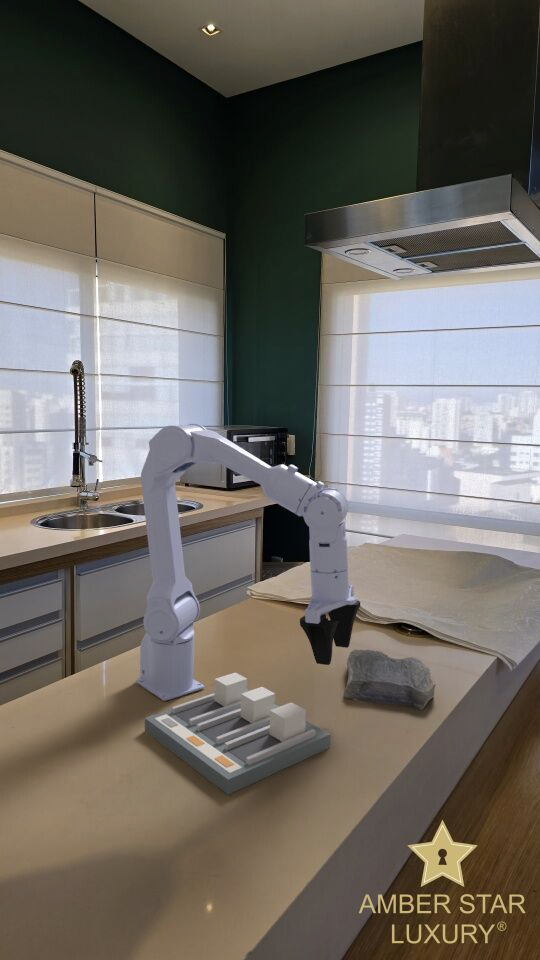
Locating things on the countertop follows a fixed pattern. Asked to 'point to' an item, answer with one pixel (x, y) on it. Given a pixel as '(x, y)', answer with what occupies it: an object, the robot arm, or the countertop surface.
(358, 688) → the grey rock
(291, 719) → the tab right
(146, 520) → the robot arm
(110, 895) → the countertop surface
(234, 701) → the tab left
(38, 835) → the countertop surface
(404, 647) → the countertop surface
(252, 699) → the tab middle
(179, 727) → the switch panel
